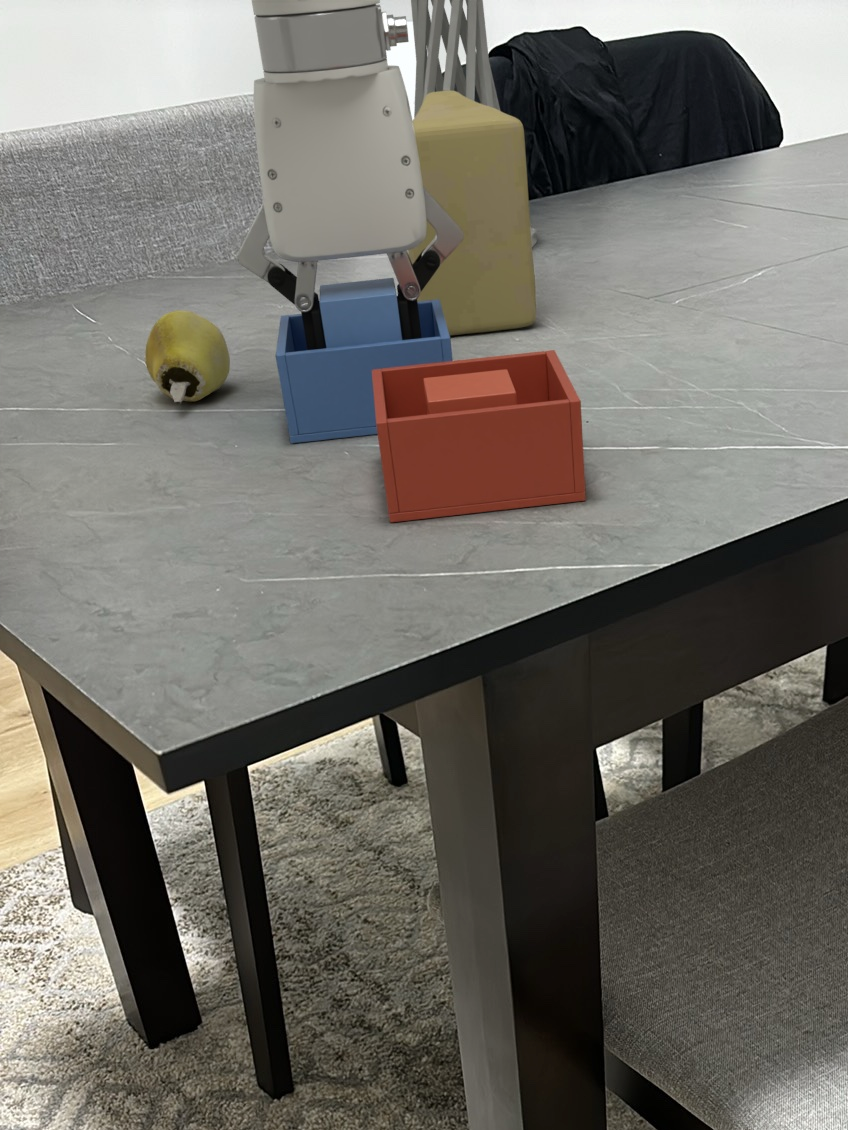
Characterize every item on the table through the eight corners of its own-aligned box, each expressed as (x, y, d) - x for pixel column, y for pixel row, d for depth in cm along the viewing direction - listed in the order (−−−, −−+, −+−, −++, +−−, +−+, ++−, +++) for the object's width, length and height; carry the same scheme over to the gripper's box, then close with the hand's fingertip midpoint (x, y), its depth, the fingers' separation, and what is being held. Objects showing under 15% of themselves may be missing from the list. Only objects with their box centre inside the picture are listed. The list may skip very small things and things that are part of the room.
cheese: (408, 283, 128) (385, 93, 119) (512, 272, 129) (497, 82, 120) (418, 341, 111) (392, 124, 102) (539, 328, 111) (524, 111, 102)
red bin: (389, 522, 78) (376, 423, 75) (384, 461, 87) (371, 369, 84) (586, 500, 79) (580, 400, 76) (560, 441, 88) (554, 349, 84)
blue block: (331, 382, 92) (319, 301, 89) (331, 363, 96) (319, 285, 93) (406, 374, 93) (396, 293, 90) (403, 355, 97) (393, 277, 94)
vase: (397, 266, 134) (340, -203, 113) (406, 239, 145) (355, -194, 124) (537, 255, 134) (506, -218, 113) (536, 229, 145) (507, -208, 123)
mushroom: (138, 423, 98) (146, 366, 105) (225, 438, 100) (227, 381, 106) (142, 341, 94) (150, 287, 101) (232, 358, 96) (234, 304, 103)
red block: (438, 490, 81) (427, 401, 78) (433, 463, 85) (423, 377, 81) (523, 481, 81) (516, 391, 78) (514, 454, 85) (507, 368, 82)
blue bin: (290, 443, 91) (275, 355, 88) (294, 397, 100) (280, 315, 97) (459, 425, 92) (450, 337, 89) (448, 380, 101) (439, 299, 98)
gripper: (458, 29, 87) (487, 338, 98) (186, 56, 86) (245, 364, 97) (468, 37, 81) (497, 365, 92) (175, 66, 80) (240, 394, 91)
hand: (367, 362), depth 94 cm, fingers closed on blue block, 5 cm apart
